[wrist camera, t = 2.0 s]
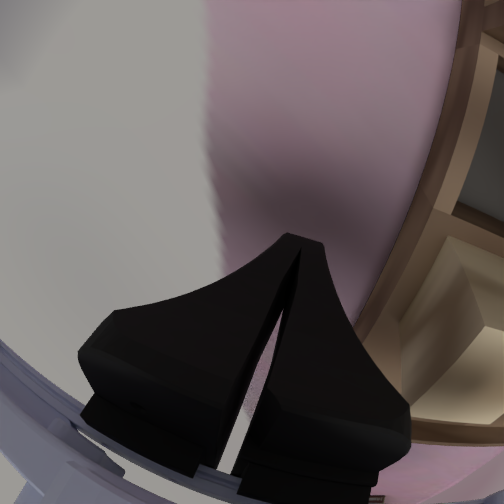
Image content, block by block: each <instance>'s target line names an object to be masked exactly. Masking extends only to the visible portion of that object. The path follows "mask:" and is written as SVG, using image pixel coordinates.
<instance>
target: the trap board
mask: <svg viewBox="0 0 504 504" xmlns="http://www.w3.org/2000/svg"><path fill="white" fill-rule="evenodd" d="M447 236H451V237H454V238H456V239H459V240H461V241H464V242H466V243H469V244H471V245H474V246H476V247H478V248H481V249H483V250H486V251H488V252H490V253H493V254H495V255H497V256H499V257H502V258H504V0H462V7H461V16H460V24H459V31H458V38H457V44H456V50H455V55H454V61H453V66H452V71H451V76H450V80H449V85H448V89H447V93H446V97H445V101H444V105H443V109H442V113H441V116H440V120H439V124H438V127H437V131H436V134H435V137H434V141H433V144H432V147H431V150H430V153H429V156H428V159H427V162H426V165H425V168H424V171H423V174H422V177H421V180H420V183H419V185H418V188H417V191H416V193H415V196H414V199H413V201H412V204H411V206H410V209H409V212H408V214H407V217H406V219H405V221H404V224H403V226H402V229H401V231H400V233H399V236H398V238H397V240H396V243H395V245H394V247H393V249H392V252H391V254H390V256H389V258H388V260H387V263H386V265H385V267H384V269H383V271H382V273H381V275H380V277H379V279H378V281H377V283H376V285H375V287H374V289H373V291H372V293H371V295H370V297H369V299H368V301H367V303H366V305H365V307H364V309H363V311H362V313H361V315H360V316H359V318H358V320H357V322H356V324H355V326H354V327H353V330H354V331H355V333H356V335H357V337H358V338H359V340H360V341H361V343H362V345H363V346H364V348H365V349H366V351H367V352H368V354H369V355H370V357H371V358H372V360H373V361H374V363H375V364H376V365H377V367H378V368H379V369H380V370H381V372H382V373H383V374H384V376H385V377H386V378H387V380H388V381H389V382H390V383H391V384H392V385H393V386H394V388H395V389H396V390H397V391H398V392H399V393H400V394H401V395H402V387H401V350H400V333H399V322H400V320H401V319H402V317H403V316H404V314H405V313H406V311H407V309H408V308H409V306H410V304H411V303H412V301H413V299H414V298H415V296H416V294H417V293H418V291H419V289H420V288H421V286H422V284H423V282H424V280H425V279H426V277H427V275H428V273H429V271H430V270H431V268H432V266H433V264H434V262H435V260H436V258H437V256H438V254H439V252H440V251H441V249H442V247H443V245H444V242H445V240H446V238H447ZM411 422H412V435H411V443H418V444H429V445H444V446H472V447H487V446H504V414H502V415H501V416H500V417H499V418H497V419H496V420H495V421H494V422H492V423H491V424H474V423H461V422H450V421H441V420H433V419H425V418H418V417H411Z"/></svg>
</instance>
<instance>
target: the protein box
mask: <svg viewBox="0 0 504 504" xmlns="http://www.w3.org/2000/svg"><path fill="white" fill-rule="evenodd" d="M384 498H385V496H370V498H369V503H379V504H384Z"/></svg>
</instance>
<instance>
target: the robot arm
mask: <svg viewBox="0 0 504 504" xmlns="http://www.w3.org/2000/svg"><path fill="white" fill-rule="evenodd" d="M282 310H283V313H282V318H281V322H280V327H279V331H278V336H277V340H276V345H275V349H274V354H273V358H272V362H271V366H270V369H269V372H268V375H267V378H266V381H265V384H264V387H263V390H262V392H261V395H260V398H259V401H258V404H257V406H256V409H255V412H254V414H253V417H252V420H251V423H250V425H249V428H248V431H247V433H246V436H245V438H244V441H243V444H242V446H241V449H240V451H239V454H238V456H237V459H236V461H235V464H234V467H233V469H232V471H231V474H230V475H229V474H226V473H224V472H221V471H218V470H216V469H217V467H218V464H219V462H220V460H221V457H222V455H223V452H224V449H225V447H226V444H227V442H228V439H229V437H230V434H231V432H232V429H233V427H234V424H235V422H236V419H237V416H238V414H239V411H240V409H241V406H242V403H243V401H244V398H245V395H246V393H247V390H248V387H249V385H250V382H251V379H252V377H253V374H254V371H255V369H256V366H257V364H258V362H259V359H260V357H261V355H262V353H263V351H264V349H265V346H266V344H267V342H268V340H269V338H270V336H271V334H272V332H273V330H274V327H275V325H276V323H277V321H278V319H279V317H280V314H281V312H282ZM78 361H79V364H80V366H81V369H82V371H83V373H84V375H85V376H86V378H87V380H88V382H89V383H90V385H91V387H92V389H93V390H94V392H95V393H94V394H93V396H92V397H91V399H90V400H89V402H88V403H87V405H86V406H85V405H84V404H82V403H81V402H79V401H77V400H76V399H75V398H73V397H72V396H70V395H68V394H67V393H66V392H64V391H63V390H62V389H60V388H59V387H57V386H56V385H55V384H53V383H52V382H51V381H49V380H48V379H47V378H45V377H44V376H43V375H42V374H40V373H39V372H38V371H36V370H35V369H34V368H33V367H31V366H30V365H29V364H28V363H26V362H25V361H24V360H23V359H22V358H21V357H20V356H18V355H17V354H16V353H15V352H14V351H13V350H12V349H10V348H9V347H8V346H7V345H6V344H5V343H4V342H3V341H2V340H1V339H0V451H1V453H2V454H3V455H4V457H5V458H6V459H7V460H8V461H9V462H10V463H11V465H12V466H13V467H14V468H15V469H16V470H17V471H18V472H19V473H20V474H21V475H22V476H23V477H24V478H25V479H26V480H27V483H26V484H25V486H24V487H23V489H22V491H21V493H20V494H19V496H18V498H17V499H16V501H15V502H14V504H176V503H174V502H171V501H169V500H167V499H165V498H162V497H160V496H158V495H156V494H153V493H151V492H149V491H147V490H145V489H143V488H141V487H139V486H137V485H135V484H133V483H131V482H129V481H127V480H125V479H123V476H124V474H125V470H124V469H123V468H122V467H120V466H119V465H117V464H116V463H115V462H113V460H111V459H110V458H109V457H108V456H107V455H106V453H105V451H104V450H102V449H100V448H99V447H98V446H96V445H95V444H93V443H92V442H91V441H89V440H88V439H87V438H85V437H84V436H83V435H81V434H80V433H79V432H78V430H79V431H81V432H82V433H84V434H85V435H87V436H88V437H90V438H91V439H93V440H94V441H96V442H98V443H99V444H101V445H102V446H104V447H106V448H107V449H109V450H111V451H113V452H114V453H116V454H118V455H120V456H121V457H123V458H125V459H127V460H129V461H130V462H132V463H134V464H136V465H138V466H140V467H142V468H144V469H146V470H148V471H150V472H152V473H154V474H156V475H159V476H161V477H163V478H165V479H167V480H169V481H172V482H174V483H177V484H179V485H181V486H184V487H186V488H189V489H191V490H194V491H196V492H199V493H202V494H204V495H207V496H210V497H213V498H216V499H219V500H221V501H225V502H228V503H231V504H379V503H369V498H370V493H371V487H374V486H376V484H377V482H378V475H379V471H381V470H383V469H385V468H386V467H388V466H390V465H392V464H394V463H395V462H397V461H399V460H400V459H401V458H402V457H404V456H405V455H406V454H407V453H408V452H409V450H410V448H411V435H412V422H411V413H410V405H409V403H408V402H407V401H406V400H405V399H404V398H403V397H402V395H401V394H400V393H399V392H398V391H397V390H396V389H395V388H394V386H393V385H392V384H391V383H390V382H389V381H388V380H387V378H386V377H385V376H384V374H383V373H382V372H381V370H380V369H379V368H378V367H377V365H376V364H375V363H374V361H373V360H372V358H371V357H370V355H369V354H368V352H367V351H366V349H365V348H364V346H363V345H362V343H361V341H360V340H359V338H358V337H357V335H356V333H355V331H354V330H353V328H352V326H351V324H350V322H349V320H348V318H347V316H346V314H345V312H344V309H343V307H342V305H341V302H340V300H339V297H338V295H337V292H336V290H335V287H334V284H333V281H332V278H331V275H330V271H329V268H328V264H327V260H326V255H325V250H324V245H323V244H322V243H321V242H317V241H314V240H311V239H307V238H304V237H301V236H297V235H294V234H290V233H285V234H283V235H282V236H281V237H280V238H279V239H278V240H277V241H276V242H275V243H274V244H273V245H272V246H270V247H269V248H268V249H267V250H265V251H264V252H263V253H262V254H260V255H259V256H258V257H256V258H255V259H253V260H252V261H251V262H249V263H247V264H246V265H244V266H243V267H241V268H240V269H238V270H237V271H235V272H233V273H231V274H230V275H228V276H226V277H224V278H222V279H220V280H218V281H216V282H214V283H212V284H210V285H207V286H205V287H203V288H200V289H198V290H195V291H193V292H190V293H187V294H184V295H181V296H178V297H175V298H171V299H168V300H164V301H160V302H157V303H152V304H147V305H142V306H137V307H132V308H126V309H120V310H114V311H113V312H112V313H111V314H110V315H109V316H108V317H107V318H106V319H105V320H104V321H103V322H102V323H101V324H100V325H99V326H98V327H97V329H96V330H95V331H94V332H93V333H92V335H91V336H90V337H89V338H88V340H87V341H86V342H85V343H84V344H83V346H82V347H81V348H80V349H79V351H78ZM77 429H78V430H77ZM438 504H504V490H501V491H498V492H496V493H494V494H492V495H489V496H487V497H486V498H484V499H478V500H471V501H463V502H452V503H438Z"/></svg>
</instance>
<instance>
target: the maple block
mask: <svg viewBox="0 0 504 504" xmlns="http://www.w3.org/2000/svg"><path fill="white" fill-rule="evenodd" d="M399 333H400V350H401V387H402V397H403V398H404V399H405V400H406V401H407V402H408V403H409V405H410V413H411V417H418V418H425V419H433V420H441V421H450V422H461V423H474V424H491V423H492V422H494V421H495V420H496V419H497V418H499V417H500V416H501V415H502V414H504V258H502V257H499V256H497V255H495V254H493V253H490V252H488V251H486V250H483V249H481V248H478V247H476V246H474V245H471V244H469V243H466V242H464V241H461V240H459V239H456V238H454V237H451V236H447V238H446V240H445V242H444V245H443V247H442V249H441V251H440V252H439V254H438V256H437V258H436V260H435V262H434V264H433V266H432V268H431V270H430V271H429V273H428V275H427V277H426V279H425V280H424V282H423V284H422V286H421V288H420V289H419V291H418V293H417V294H416V296H415V298H414V299H413V301H412V303H411V304H410V306H409V308H408V309H407V311H406V313H405V314H404V316H403V317H402V319H401V320H400V322H399Z"/></svg>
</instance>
